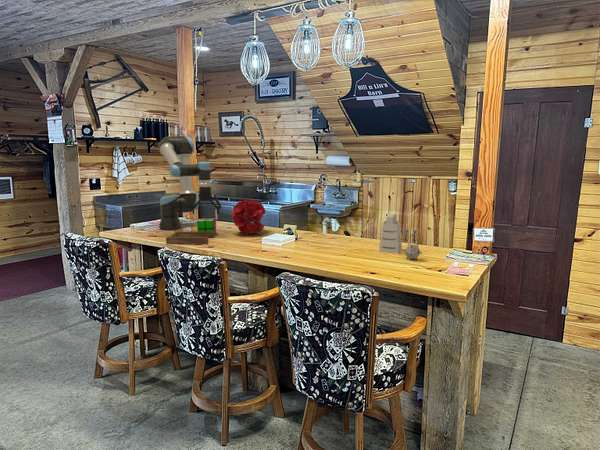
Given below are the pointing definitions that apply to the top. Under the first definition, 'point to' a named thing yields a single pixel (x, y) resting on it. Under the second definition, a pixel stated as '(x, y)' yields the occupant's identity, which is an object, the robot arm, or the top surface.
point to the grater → (390, 235)
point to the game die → (412, 251)
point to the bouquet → (248, 216)
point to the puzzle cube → (206, 225)
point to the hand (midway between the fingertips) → (206, 219)
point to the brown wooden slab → (189, 238)
